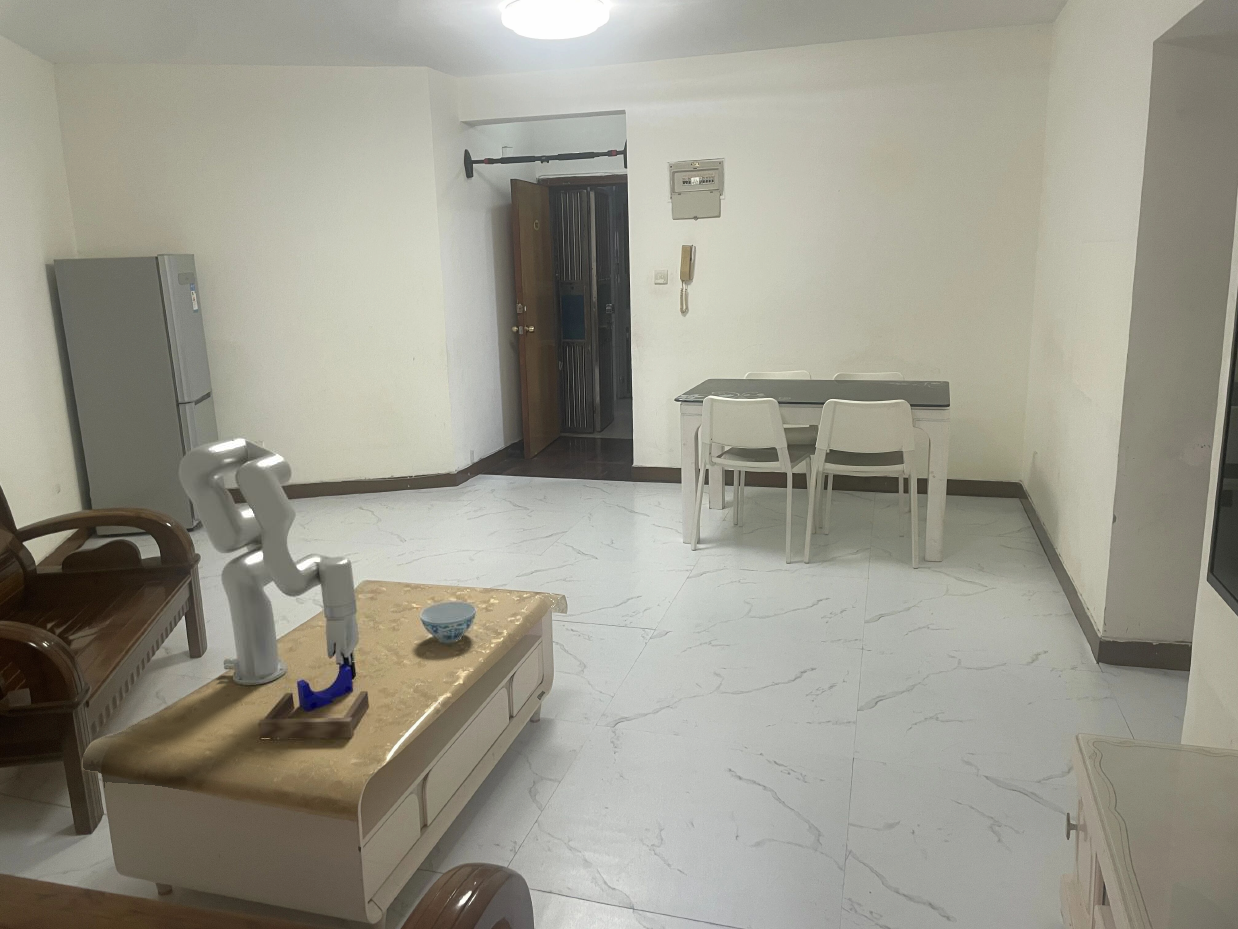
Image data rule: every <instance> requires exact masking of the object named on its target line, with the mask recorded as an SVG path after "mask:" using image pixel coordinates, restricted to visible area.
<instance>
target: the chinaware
mask: <svg viewBox="0 0 1238 929" xmlns="http://www.w3.org/2000/svg"><path fill="white" fill-rule="evenodd" d="M476 613H477V608H476V607H475V605H474V604H472V603H470V602H466V601H459V600H458V601H457V600H456V601H444V602H439V603H438V602H437V603H436V604H431V605H430V606H427V607H425V608H424V609H422V610H421V611H420V613H419V617H420V621H421V623H422V625H423V627H424V629H425V630H426V632H428V633H429V635H431V636H432V637H434V638H436V639H437V641H438V642H439V643H442V642H443V644H451V642H452V643H455V642H454V641H456V640H459V639H460V638H462V639H463V637H462V636H464V635H465V634H466V633H468V631H469V630H470V629H471V627H472V625H473V623H474V621H475V618H476ZM460 640H461V639H460ZM460 640H459V641H460ZM456 642H457V641H456Z"/></svg>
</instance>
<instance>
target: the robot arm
mask: <svg viewBox="0 0 1238 929" xmlns="http://www.w3.org/2000/svg"><path fill="white" fill-rule="evenodd" d="M291 468H292V467H291V466H290V464H289V462H288V461H287V460H286V459H285V458H284V457H283V456H282V455H280V454H279V453H277V452H276V451H273V450H271V449H268V448H267V447H265V446H261V445H260V444H258V443H255V442H253V441H251V440H248V439H246V438H243V437H239V436H233V437H232V436H231V437H226V438H223V439H219V440H216V441H212V442H208V443H204V444H202V445H199V446H196V447H194V448H192V449H191V450H190V451H187V453H185V455H184V456H183V457H182V459H181V461H180V463H179V467H178V478H179V481H180V484H181V486H182V488H183V490H184V492H185V493H186V496H187V497H188V498H189V500H190V501H191V503H192V505H193V506H194V508H195V511H196V513H197V515H198V518H199V520H200V522H201V525H202V526H203V528H204V531H205V532H206V535H207V537H208V539H209V542H210V543H211V544H212V547H213V548H214V549H215V551H217V552H219V553H220V554H231V553H235V552H237V551H239V550H241V549H244V548H245V547H246V548H245V549H247V551H246V552H244V553H242V554H240V555H238V556H236V557H234V558H232V559H231V560H230V561H228V562H227V563H226V564H225V566H224V567H223V569H222V571H221V575H220V577H221V578H220V579H221V585H222V587H223V589H224V592H225V595H226V597H227V601H228V605H229V606H228V607H229V610H230V611H229V612H230V617H231V618H230V619H231V624H232V631H233V638H234V644H235V652H236V658H224V659H223V669H224V670H226V671H227V670H233V671H234V672H233V674H232V679H233V681H234V683H236V684H238V685H241V684H242V686H257V685H261V684H262V685H263V684H266V683H269V682H272V681H274V680H277V679H279V678H281V677H282V676H283V675H284V674H285V673H286V672H287V670H288V667H287V663H286V662H284V661H283V660H280V657H279V648H278V640H277V634H276V626H275V625H276V624H275V618H274V610H273V604H272V601H271V600H270V597H269V596H268V595H267V593H266V592H265V589H264V587H266V586H267V585H269V584H270V583H274V584H275V586H276V587H277V588H278V590H279V591H280V592H281V593H282V594H283V595H286V596H287V597H293V598H296V597H299V596H302V595H304V594H305V593H307V592H309V591H310V590H312V589H314V588H316V587H318V586H320V589H321V590H320V591H321V597H322V598H321V600H322V605H323V606H322V607H323V614H324V618H325V619H326V620H325V621H326V622H325V639H326V651H327V652H326V653H327V657H328V659H333V657H334V656H335V666H338V665H339V666H341V665H344V664H345V665H347V666H348V667H350V668H351V674H352V681H353V680H355V678H356V677H357V672H356V664H355V648H357V646H358V644H359V642H360V641H359V640H360V637H359V627H358V621H357V612H358V607H357V598H356V590H355V584H354V582H355V581H354V573H353V566H352V562H351V560H350V559H349V558H348V557H345V556H333V557H331V556H327V555H323V554H319V553H311V554H308V555H306V556H303V557H301V558H300V559H297V560H296V561H294V559H293V558H292V554H291V553H290V550H289V547H288V546H289V545H288V536H289V533H290V532H289V531H290V529H291V527H292V524H293V523H294V520H295V519H296V516H297V515H296V509H294V506H293V505H292V503H291V502H290V500H289V498H288V496H287V494H286V493H285V490H284V489H283V486H285V485H287V484H288V483H289V482H290V480H291V479H292V478H291V477H292V469H291ZM233 473H235V474H234V479H235V480H234V481H235V483H236V485H237V487H238V490H239V491H240V492H241V494H242V496H243V498H244V500H245V502H246V503H247V505H243V506H240V507H239V508H238V506H237V505H236V503H235V500H234V497H233V496H232V494H231V493H230V491H229V490H228V489H227V488H226V486H224V485H223V484H222V483H221V482H219V481H218V479H219V478H220V477H224V476H227V475H230V474H233ZM339 666H338V667H339Z"/></svg>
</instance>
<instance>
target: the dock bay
mask: <svg viewBox="0 0 1238 929" xmlns="http://www.w3.org/2000/svg"><path fill="white" fill-rule="evenodd" d="M293 695H294V694H293V692H285V693H284V694H283V696H281V698H280V699H279V701H278V702H277V703H276V704H275V705H274V706H273V708H271V709H270V710H269V712H268V714H266V716H264V718H261V719H260V720H259V721H258V723H257V725H258V731H259V739H260V738H270V739H272V740H291V739H290V738H293V739H292V740H295V739H294V738H326V739H353V737H354V735H355V730H356V729H357V727H358V725H359V723H361V721H362V720H363V718H364V716H365V714H366V713H367V711H368V710H369V708H370V704H369V703H370V702H369V694H368V690H364V691H363V690H362V691H360V692H359V694H357V696H356V697H355V699H354V701H353V702H352V703H351V705H350V706H349V709H348V710H347V712H346V713H345V714H344V716H343V717H320V718H319V717H314V718H311V717H310V718H309V717H307V718H288V717H289V716H290V715H291V713H292V712H293V711H294V710H295V704H294V703H295V701H294V696H293ZM278 738H279V739H278Z"/></svg>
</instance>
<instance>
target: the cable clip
mask: <svg viewBox="0 0 1238 929" xmlns="http://www.w3.org/2000/svg"><path fill="white" fill-rule="evenodd" d="M296 686H297V695H298V703H299V706H300V707H301V708H303V709H304V710H305V711H307V712H312V711H314V710H316V709H320V708H321V707H325V706H327V705H329V704H332V703H333V702H334V701H333V699H336V698H339V697H342V696H344V695H346V694H349V693H351V692H354V687H353V680H352V674H351V668H350V667H348V666H347V665H345V664H344V665H341V666H338V673H337V675H336V678H335V679H334V681H333V683H332V684H330V686H328V687H327V688H325V689H322V690H317V691H315V690H312V689H311V686H310V683H309V682H307V681H306V680H305V679H300V680H298V681H296Z"/></svg>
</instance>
